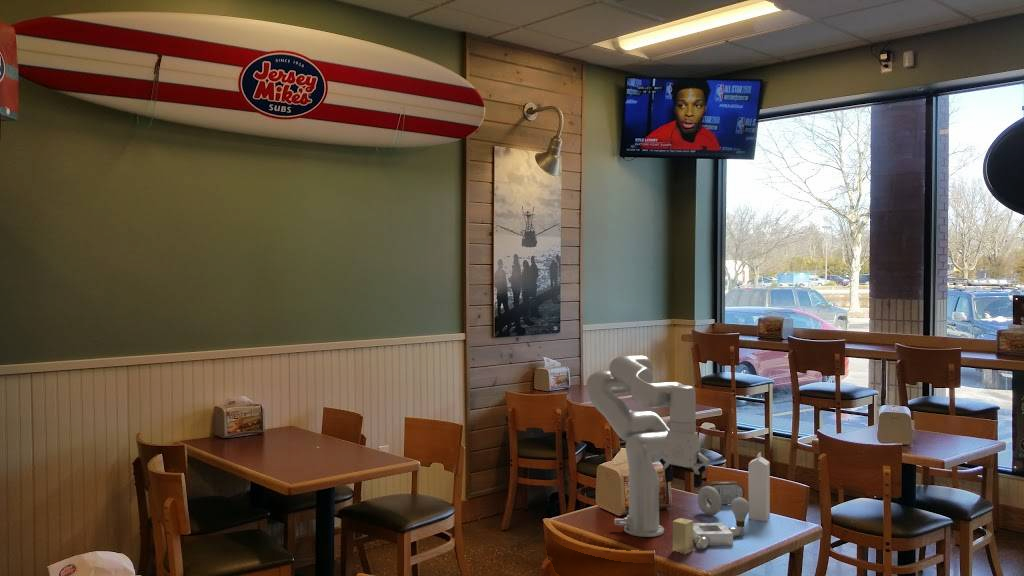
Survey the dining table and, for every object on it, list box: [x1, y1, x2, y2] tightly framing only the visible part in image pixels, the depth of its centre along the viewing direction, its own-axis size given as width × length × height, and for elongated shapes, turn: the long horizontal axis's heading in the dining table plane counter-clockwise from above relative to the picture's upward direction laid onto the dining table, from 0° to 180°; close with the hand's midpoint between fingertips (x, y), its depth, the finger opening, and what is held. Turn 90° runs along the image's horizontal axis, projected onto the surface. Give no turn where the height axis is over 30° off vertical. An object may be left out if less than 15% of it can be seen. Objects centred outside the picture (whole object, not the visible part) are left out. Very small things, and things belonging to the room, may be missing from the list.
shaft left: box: [695, 536, 711, 551], centre depth 241 cm, size 6×3×3 cm, turn 152°
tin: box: [705, 480, 745, 506], centre depth 287 cm, size 15×3×8 cm, turn 98°
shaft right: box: [727, 526, 745, 538], centre depth 250 cm, size 6×3×3 cm, turn 107°
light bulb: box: [730, 497, 750, 529], centre depth 259 cm, size 6×6×10 cm
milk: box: [747, 452, 771, 522], centre depth 270 cm, size 6×6×22 cm
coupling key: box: [672, 517, 694, 555], centre depth 237 cm, size 4×4×9 cm
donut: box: [696, 485, 722, 517], centre depth 274 cm, size 10×4×10 cm, turn 31°
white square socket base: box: [693, 522, 734, 546], centre depth 248 cm, size 11×11×4 cm
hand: (683, 484), depth 237 cm, fingers open, 9 cm apart
